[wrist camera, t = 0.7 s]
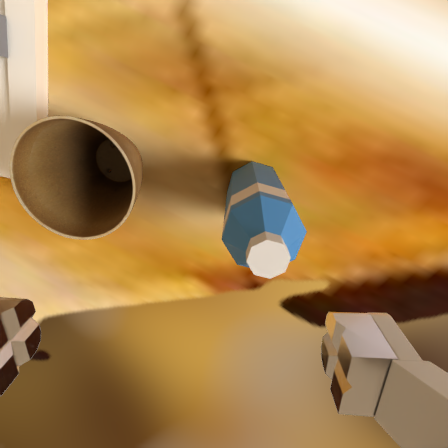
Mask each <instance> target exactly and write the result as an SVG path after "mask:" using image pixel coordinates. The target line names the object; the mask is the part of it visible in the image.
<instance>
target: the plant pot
mask: <svg viewBox="0 0 448 448" xmlns="http://www.w3.org/2000/svg"><path fill="white" fill-rule="evenodd" d="M111 144H113V147H112V146H111ZM109 170H111V171H110V172H109ZM9 171H10V178H11V182H12V186H13V189H14V192H15V194H16V196H17V198H18V200H19V201H20V203H21V205H22V206H23V208H24V209H25V210H26V211H27V213H28V214H29V215H30V216H31V217H32V218H33V219H34V220H35V221H37V222H38V223H39V224H40V225H42V226H43V227H45V228H46V229H48V230H50V231H52V232H54V233H56V234H58V235H61V236H64V237H67V238H72V239H82V240H87V239H95V238H100V237H103V236H105V235H108V234H110V233H112V232H113V231H115V230H116V229H117V228H119V227H120V226H121V225H122V224H123V223H124V221H125V220H126V219H127V217H128V216H129V214H130V212H131V210H132V208H133V206H134V204H135V201H136V199H137V197H138V194H139V191H140V187H141V183H142V176H143V165H142V159H141V156H140V153H139V151H138V149H137V148H136V146H135V145H134V144H133V143H132V142H131V141H130V140H129V139H128V138H127V137H125V136H124V135H122V134H121V133H119V132H118V131H116V130H114V129H112V128H110V127H107V126H105V125H102V124H99V123H96V122H93V121H89V120H85V119H81V118H76V117H70V116H51V117H46V118H42V119H40V120H38V121H35V122H34V123H32V124H30V125H29V126H28V127H26V128H25V129H24V130H23V131H22V132H21V133H20V135H19V136H18V137H17V139H16V141H15V143H14V145H13V148H12V151H11V155H10V162H9Z"/></svg>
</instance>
